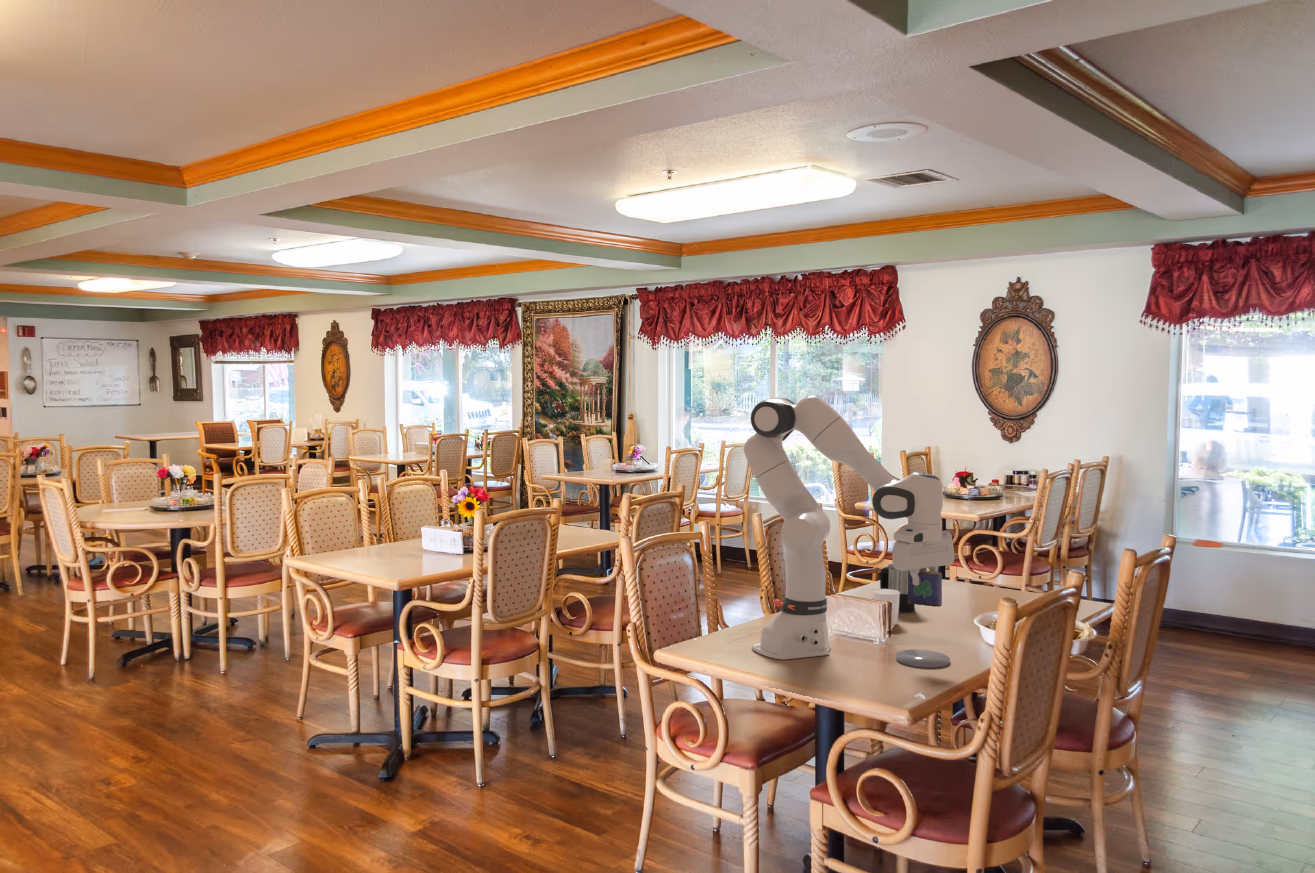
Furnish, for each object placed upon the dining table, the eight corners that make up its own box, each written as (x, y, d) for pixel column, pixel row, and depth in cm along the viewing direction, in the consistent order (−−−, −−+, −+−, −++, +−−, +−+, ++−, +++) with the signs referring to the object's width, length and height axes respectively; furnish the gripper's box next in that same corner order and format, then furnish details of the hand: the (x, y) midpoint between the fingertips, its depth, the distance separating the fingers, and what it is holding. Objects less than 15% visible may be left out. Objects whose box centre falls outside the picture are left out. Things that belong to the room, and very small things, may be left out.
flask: (943, 605, 246) (943, 565, 245) (939, 607, 243) (939, 567, 243) (909, 601, 251) (909, 562, 250) (905, 603, 249) (905, 564, 248)
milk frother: (920, 609, 306) (921, 565, 305) (897, 618, 294) (898, 572, 294) (882, 602, 316) (883, 560, 315) (858, 610, 304) (859, 566, 303)
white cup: (899, 626, 283) (900, 594, 283) (873, 625, 285) (874, 593, 284) (898, 620, 291) (899, 589, 290) (873, 619, 293) (873, 588, 292)
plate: (924, 671, 238) (924, 667, 238) (884, 657, 250) (884, 654, 250) (960, 663, 246) (961, 659, 246) (920, 650, 258) (920, 646, 258)
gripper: (942, 528, 254) (941, 577, 255) (888, 534, 244) (887, 585, 244) (960, 531, 249) (959, 582, 250) (906, 537, 238) (905, 590, 239)
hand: (923, 583), depth 247 cm, fingers closed on flask, 4 cm apart
